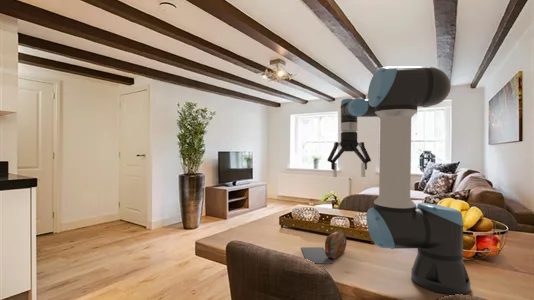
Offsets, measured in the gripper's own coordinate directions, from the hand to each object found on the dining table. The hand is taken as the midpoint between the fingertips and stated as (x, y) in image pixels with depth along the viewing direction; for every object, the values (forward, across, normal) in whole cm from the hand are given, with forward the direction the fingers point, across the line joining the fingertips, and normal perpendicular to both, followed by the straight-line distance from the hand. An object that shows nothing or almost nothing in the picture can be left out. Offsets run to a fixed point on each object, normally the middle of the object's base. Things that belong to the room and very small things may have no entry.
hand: (349, 176), depth 133 cm
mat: (+28, +22, +25) cm, 43 cm away
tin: (+28, +14, +25) cm, 40 cm away
